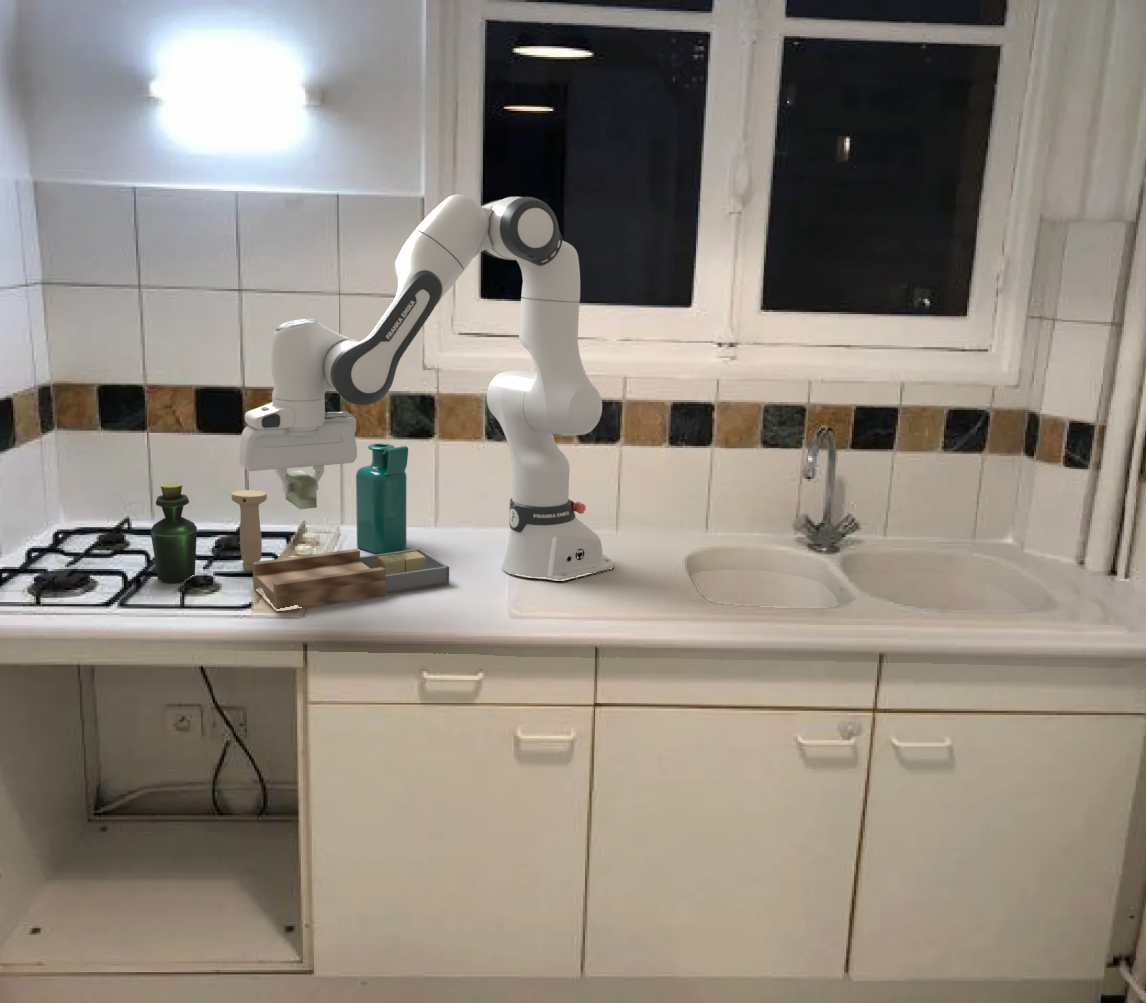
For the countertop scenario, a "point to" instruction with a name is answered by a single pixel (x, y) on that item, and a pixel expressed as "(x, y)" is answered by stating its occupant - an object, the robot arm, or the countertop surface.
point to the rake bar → (302, 490)
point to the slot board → (318, 579)
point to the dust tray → (413, 574)
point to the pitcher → (382, 500)
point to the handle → (250, 525)
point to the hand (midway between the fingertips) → (300, 491)
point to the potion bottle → (174, 537)
